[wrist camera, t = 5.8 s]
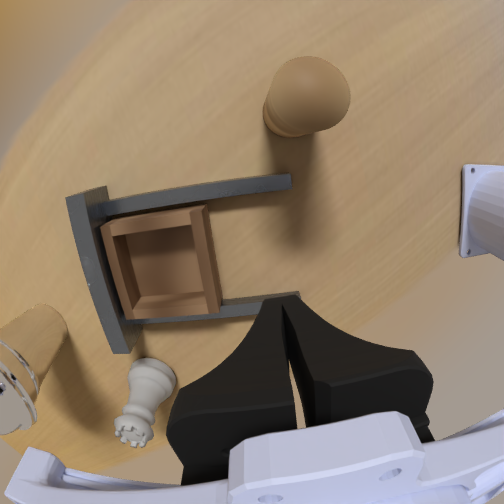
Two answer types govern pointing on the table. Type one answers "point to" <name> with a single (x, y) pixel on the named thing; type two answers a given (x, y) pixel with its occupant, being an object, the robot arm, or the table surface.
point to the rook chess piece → (144, 400)
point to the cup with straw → (27, 363)
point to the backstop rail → (101, 209)
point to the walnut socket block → (164, 263)
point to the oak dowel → (306, 97)
